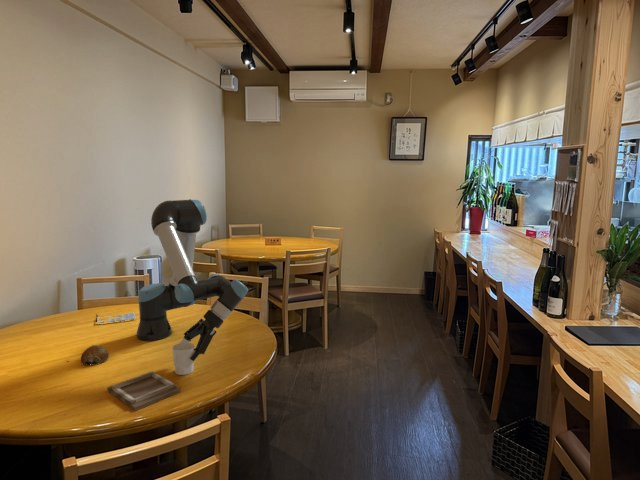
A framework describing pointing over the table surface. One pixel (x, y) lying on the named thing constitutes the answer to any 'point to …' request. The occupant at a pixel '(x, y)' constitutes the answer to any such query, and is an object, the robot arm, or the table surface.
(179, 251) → the robot arm
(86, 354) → the bread roll
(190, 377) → the table surface
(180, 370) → the white cup
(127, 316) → the snack bag
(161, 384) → the keeper board
